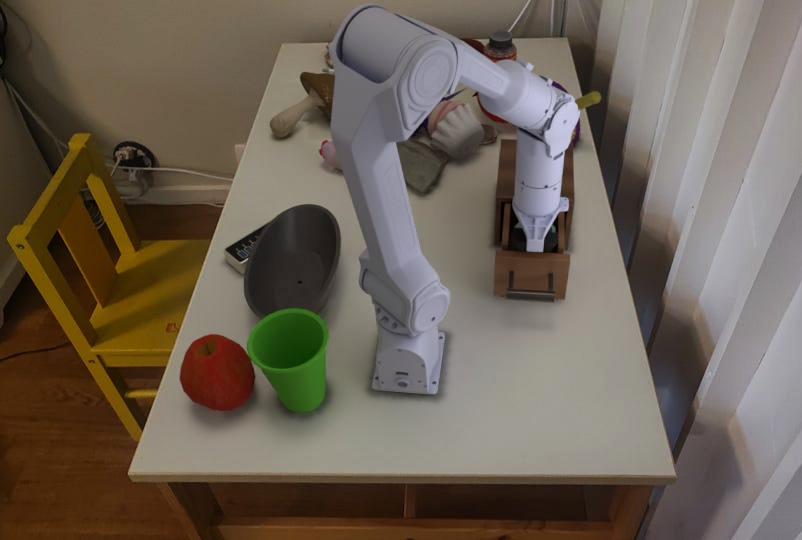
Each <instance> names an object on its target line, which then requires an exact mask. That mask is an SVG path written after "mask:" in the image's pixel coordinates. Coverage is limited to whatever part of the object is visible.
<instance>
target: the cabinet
mask: <svg viewBox="0 0 802 540" xmlns="http://www.w3.org/2000/svg"><path fill="white" fill-rule="evenodd" d="M516 148H517V138H516V139H515V138H514V139H513V138H512V139H511V138H501V139H500V147H499V155H498V156H499V158H498V167H497V178H496V189H495V201H494V203H495V204H494V231H493V233H494V235H493V246H498V247H502V234H503V222H504V209H505V202H513V197H514V195H515V172H516ZM574 168H575V165H574V148H573V142H570V144H569V146H568V148H567V149H566V150H565V154H564V164H563V174H562V183H561V193H560V197H566V198H568V200H569V208H568V211H564V250H569V246H570V245H569V244H570V237H571V230H572V223H573V215H574V208H575V169H574Z"/></svg>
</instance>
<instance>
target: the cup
mask: <svg viewBox="0 0 802 540" xmlns="http://www.w3.org/2000/svg"><path fill="white" fill-rule="evenodd" d="M329 341H330V331H329V328H328V325H327V323H326V321H324V319H323V318H322V317H321V316H319V315H318V314H317V315H316V314H315V313H313V312H311V311H308V310H305V309H297V308H294V309H285V310H280V311H277V312H274V313H272V314H270V315H268V316H266V317H265V318H263V319H262V320H259V322H257V323H256V324H255V325H254V327H253V328H252V330H251V331H250V333H249V336H248V339H247V342H246V353H247V354H248V356H249V358H250V359H251V361H252V364H253V365H255V366H256V367H258V368H259V369H260V370H261V373H262V374H263V375H264V376H265V378H266V379H267V381H268V382H269V384H270V385H271V387H272V389H273V390H274V391H275V393H276V395H277V396H278V398H279V399H280V400H281V403H283V405H284V407H285V408H287V409H288V410H290V411H291V412H294V413H298V414H305V413H310V412H312V411H314V410H316V409H317V408H318V407H319V406H320V405H322V402H323V401H324V400H325V397H326V392H327V391H326V390H327V389H326V385H327V348H328V345H329Z"/></svg>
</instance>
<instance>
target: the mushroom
mask: <svg viewBox="0 0 802 540" xmlns="http://www.w3.org/2000/svg"><path fill="white" fill-rule="evenodd" d="M299 80H300V84H301V85H302V87H303V90H304V91H305V92H306V94H307V96H306V97H305V98H304V99H302V100H301V101H299V102H298V103H295V104H294V105H291V106H290V107H288V108H286V109H283V110H282V111H280V112H278V113H276V115H274V116H273V117H271V119H270V121H269V128H270V130H271V132H272V133H273V134H274V135H275V136H276V137H278V138H284V137H287V136H288V135H289V134H290V133H291V132H292V131H293V129H294V128H295V127H296V125H297V124H298V123H299V122H300V120H301V119H302V118H303V116H304V115H305V114H306V113H307V112H309V110H311V109H313V108H315V107H317V108H318V110H319V111H321V112H322V113H323V115H324V116H326V117H327V118H328V119H330V120H331V115H332V104H333V94H334V84H335V76H334V75H332V74H328V73H325V72H321V73H316V72H310V71H302V72H301V73H300V74H299Z"/></svg>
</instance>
